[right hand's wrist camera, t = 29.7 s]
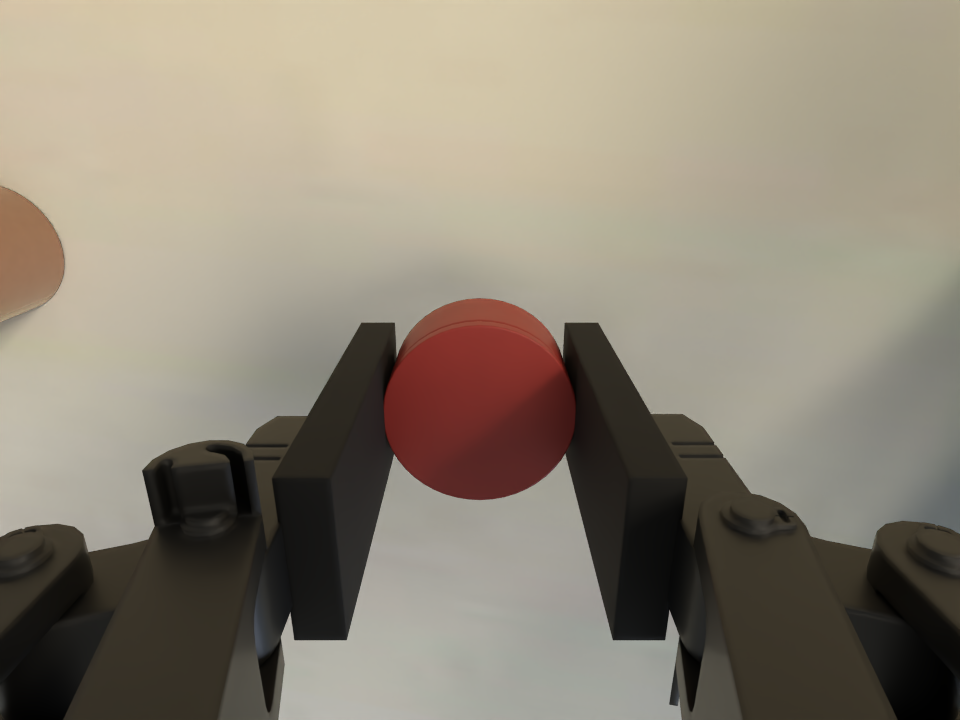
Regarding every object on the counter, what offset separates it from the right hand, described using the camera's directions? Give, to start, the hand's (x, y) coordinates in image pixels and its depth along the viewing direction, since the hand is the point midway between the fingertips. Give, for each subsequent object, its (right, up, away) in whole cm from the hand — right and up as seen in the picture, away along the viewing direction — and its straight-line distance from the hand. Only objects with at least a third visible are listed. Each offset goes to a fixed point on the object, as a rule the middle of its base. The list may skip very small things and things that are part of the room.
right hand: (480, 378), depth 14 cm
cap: (0, -1, -2) cm, 2 cm away
